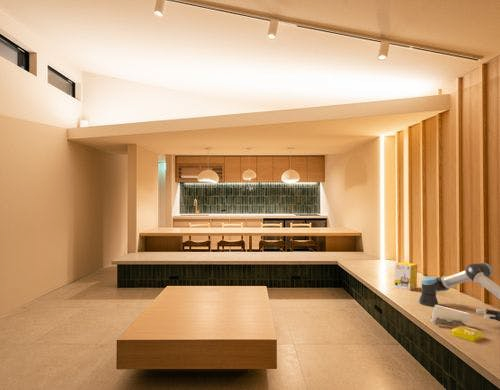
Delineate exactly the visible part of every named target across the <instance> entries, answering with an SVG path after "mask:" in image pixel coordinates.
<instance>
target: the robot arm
mask: <svg viewBox="0 0 500 390" xmlns="http://www.w3.org/2000/svg"><path fill="white" fill-rule="evenodd" d="M492 275H493V268H492V267H491V265H490V264H488V263H486V262H478V263H470V264H468V265H467V266H466V267H465V270H462V271H460V272H456V273H453V274H451V275H448V276H447V275H443V276H442V275H441V276H440V277H435V276H428V275H427V276H424V277H422V278H421V295H420V296H419V299H418V300H419V301H418V302H419V304H420V305H424V306H427V307H435V305H439V302H438V298H437V292H447V291H449V290H451V289H452V287H453V286H454V287H455V286H456V285H459V284H462V283H466V282H469V281H473V283H477V284H479V285H480V286H482V288H484V289H485V290H487V291H488V292H489V293H491V294H492V295H494V296H495V297H496V298H498V299H499V300H500V285H499V284H497V283H496V282H494V281H493V280H491V279H490V277H492ZM475 309H476V311H475V312H476V314H483V315H484V316H483V319H484V320H491V321H492V320H495V321H497V322H500V310H499V311H498V310H493V309H488V308H485V309H479V308H475Z"/></svg>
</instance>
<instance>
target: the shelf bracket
mask: <svg viewBox="0 0 500 390" xmlns="http://www.w3.org/2000/svg"><path fill="white" fill-rule="evenodd" d="M431 316H432V319H431V318H430V321H431V322H434V321H435V320H436V318H437V317H439V318H440V319H444V320H447V321H450V322H453V320H455V321H462V322H463V323H466V324H469V323H470V321H471V318H472V314H470V313H469V312H465V311H462V310H458V309H455V308H450V307H446V306H442V305H440V304H438V305H435V306H433V308H432V315H431Z"/></svg>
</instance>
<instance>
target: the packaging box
mask: <svg viewBox="0 0 500 390" xmlns="http://www.w3.org/2000/svg"><path fill="white" fill-rule="evenodd" d="M417 282H418V264H417V263H411V262H404V261H401V262H396V263H394V284H393V285H394V286H393V287H394V288H396V289H400V290H406V291H413V290H415V288H416V289H417V287H418V286H417V285H418V283H417ZM412 289H413V290H412Z"/></svg>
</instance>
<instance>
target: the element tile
mask: <svg viewBox="0 0 500 390" xmlns="http://www.w3.org/2000/svg"><path fill="white" fill-rule="evenodd" d="M468 327H469V326H468ZM468 327H465V326H459V327H456V328H453V329H451V335H452V336H453V337H457V338H460V339H463V340H466V341H469V342H472V343H477V342H479V341H481V340H483V339H484V338H485V337H484V335H485V333H484V331H481V330H479V329H475V328H471V327H469V328H468Z"/></svg>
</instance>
